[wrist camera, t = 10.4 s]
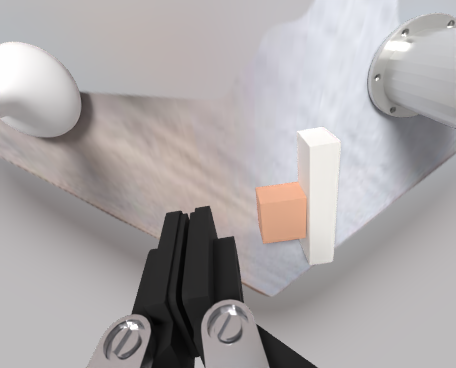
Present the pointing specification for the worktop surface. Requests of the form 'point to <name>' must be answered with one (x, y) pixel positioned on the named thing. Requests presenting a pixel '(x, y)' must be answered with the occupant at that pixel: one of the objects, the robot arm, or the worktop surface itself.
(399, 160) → the worktop surface
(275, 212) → the peach block
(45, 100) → the flower in vase
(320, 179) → the board
